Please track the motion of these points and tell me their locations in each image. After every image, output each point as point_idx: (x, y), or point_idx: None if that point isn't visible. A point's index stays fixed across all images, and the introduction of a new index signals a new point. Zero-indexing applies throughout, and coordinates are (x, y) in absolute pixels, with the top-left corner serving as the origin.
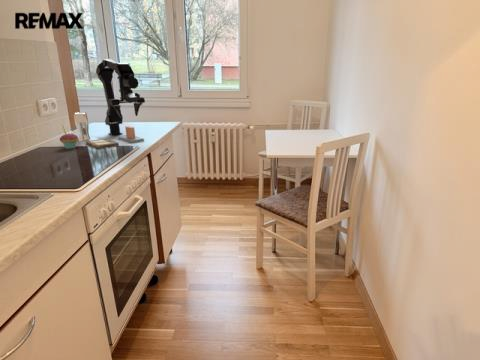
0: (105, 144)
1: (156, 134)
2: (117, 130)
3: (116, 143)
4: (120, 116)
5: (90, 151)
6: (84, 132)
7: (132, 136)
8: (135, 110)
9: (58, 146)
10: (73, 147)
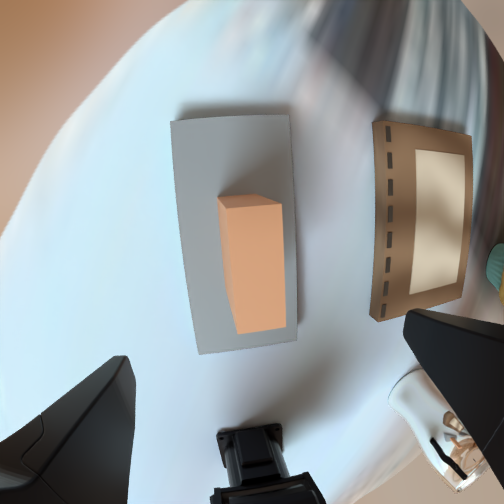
0: (441, 144)
1: (24, 307)
2: (253, 446)
3: (392, 122)
4: (434, 311)
5: (481, 127)
6: (438, 394)
7: (245, 196)
8: (113, 458)
9: (497, 310)
10: (497, 245)
